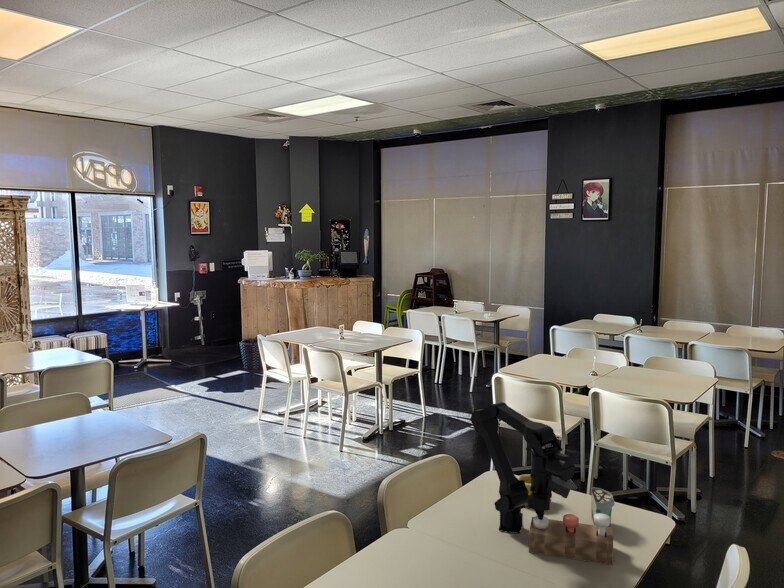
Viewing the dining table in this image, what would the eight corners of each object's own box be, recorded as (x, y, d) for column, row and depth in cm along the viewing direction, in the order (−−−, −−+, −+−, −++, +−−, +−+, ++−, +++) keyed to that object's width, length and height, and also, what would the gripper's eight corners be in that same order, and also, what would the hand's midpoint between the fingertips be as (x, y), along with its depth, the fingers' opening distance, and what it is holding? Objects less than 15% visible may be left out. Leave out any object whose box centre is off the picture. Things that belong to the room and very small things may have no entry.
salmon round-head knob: (562, 545, 170) (562, 520, 169) (563, 537, 174) (563, 513, 173) (578, 547, 169) (578, 522, 168) (578, 540, 173) (578, 515, 172)
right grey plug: (593, 545, 167) (593, 519, 166) (593, 537, 171) (593, 512, 171) (609, 547, 166) (610, 521, 165) (609, 539, 170) (609, 514, 169)
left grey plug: (532, 546, 173) (532, 521, 172) (533, 539, 177) (534, 514, 176) (547, 548, 171) (548, 523, 171) (548, 541, 176) (549, 516, 175)
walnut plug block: (528, 552, 171) (528, 532, 170) (532, 535, 180) (532, 516, 179) (612, 564, 163) (613, 544, 163) (611, 546, 173) (612, 527, 172)
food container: (617, 536, 179) (617, 504, 178) (596, 534, 180) (596, 503, 179) (610, 517, 191) (611, 487, 190) (590, 515, 192) (591, 486, 191)
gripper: (568, 484, 161) (567, 538, 162) (570, 460, 178) (570, 509, 180) (527, 480, 164) (526, 532, 166) (533, 456, 182) (533, 504, 183)
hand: (540, 519), depth 174 cm, fingers closed, pressing on left grey plug
